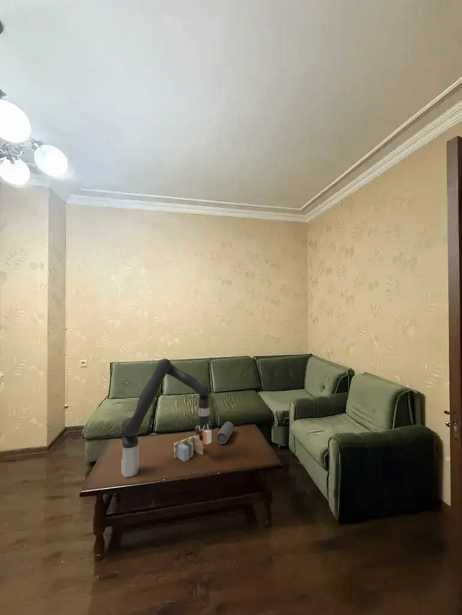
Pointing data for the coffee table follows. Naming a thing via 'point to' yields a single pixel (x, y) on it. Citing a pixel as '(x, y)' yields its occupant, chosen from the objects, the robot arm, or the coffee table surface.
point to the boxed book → (205, 436)
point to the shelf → (196, 444)
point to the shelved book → (183, 452)
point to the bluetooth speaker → (225, 432)
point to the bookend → (190, 448)
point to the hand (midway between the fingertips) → (204, 439)
